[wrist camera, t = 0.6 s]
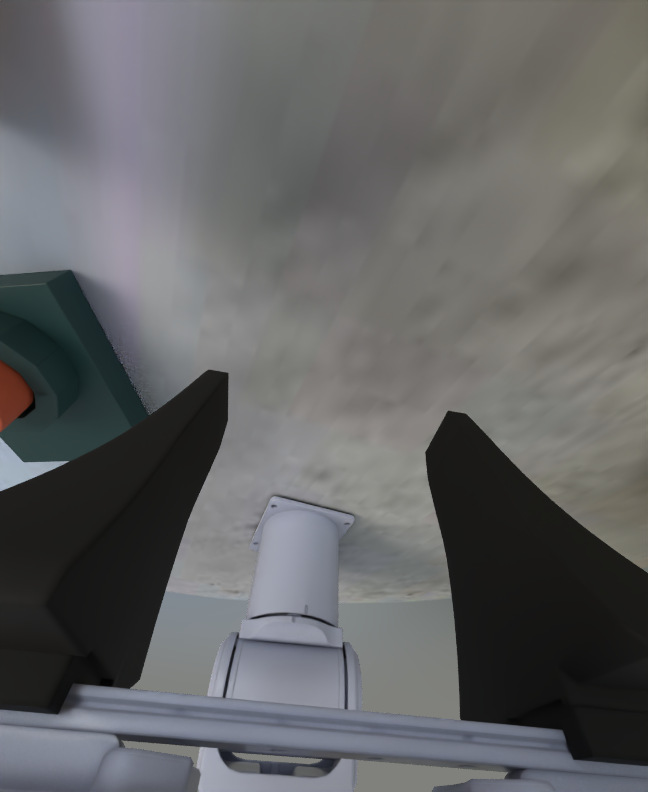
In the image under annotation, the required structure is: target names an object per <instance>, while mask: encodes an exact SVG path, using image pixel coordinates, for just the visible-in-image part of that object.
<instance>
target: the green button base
mask: <svg viewBox="0 0 648 792" xmlns="http://www.w3.org/2000/svg"><path fill="white" fill-rule="evenodd" d="M0 360H1V361H3V362H4V363H6V364H7V365H9V366H10V367H12V368H13V369H14V370H16V371H17V372H19V374H20V375H21V376H22V377H23V379H24V380H25V381H26V383H27V384H28V385H29V387H30V388H31V389H32V391H33V394H34V398H33V402H32V404H31V405H30V406H29V407H28V408H27V409H26V410H25V411H24V412H23V413H21V414H20V415H19V416H18V417H17V418H16V419H15V420H14V421H13V422H12V423H10V424H9V425H8V426H7V427H6V428H5V429H4V430H3V431H2V432H1V433H0V437H1V438H2V440H3V441H4V442H5V443H6V444H7V445H8V446H9V447H10V448H11V449H12V450H13V451H14V452H15V453H16V454H17V456H18V457H19V458H20V459H21V460H22V461H23V462H49V461H72V460H74V459H76V458H78V457H80V456H82V455H84V454H86V453H88V452H90V451H92V450H94V449H96V448H98V447H100V446H101V445H103V444H105V443H107V442H108V441H110V440H112V439H114V438H115V437H117V436H119V435H120V434H122V433H124V432H125V431H127V430H128V429H130V428H132V427H133V426H135V425H136V424H138V423H139V422H141V421H142V420H144V419H145V418H146V417H148V414H147V412H146V410H145V408H144V406H143V404H142V403H141V401H140V399H139V397H138V395H137V393H136V391H135V390H134V388H133V386H132V384H131V382H130V380H129V378H128V376H127V375H126V373H125V371H124V369H123V367H122V365H121V363H120V361H119V360H118V358H117V356H116V354H115V352H114V350H113V348H112V346H111V345H110V343H109V341H108V339H107V337H106V335H105V333H104V331H103V330H102V328H101V326H100V324H99V322H98V320H97V318H96V316H95V315H94V313H93V311H92V309H91V307H90V305H89V303H88V301H87V300H86V298H85V296H84V294H83V292H82V290H81V288H80V287H79V285H78V283H77V281H76V279H75V277H74V275H73V273H72V272H71V270H63V271H50V272H37V273H24V274H11V275H0Z"/></svg>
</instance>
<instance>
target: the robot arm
mask: <svg viewBox="0 0 648 792" xmlns="http://www.w3.org/2000/svg"><path fill="white" fill-rule="evenodd" d="M227 422H228V373H226V372H220V371H214V370H208V371H206V372H205V373H203V374H202V375H201V376H200V377H199V378H197V379H196V380H195V381H194V382H193V383H191V384H190V385H189V386H188V387H186V388H185V389H184V390H183V391H182V392H180V393H179V394H178V395H176V396H175V397H174V398H173V399H171V400H170V401H169V402H167V403H166V404H165V405H163V406H162V407H161V408H159V409H158V410H157V411H155V412H154V413H152V414H151V415H149V416H148V417H146V418H145V419H144V420H142V421H141V422H139V423H138V424H136V425H135V426H133V427H132V428H130V429H128V430H127V431H125V432H124V433H122V434H120V435H119V436H117V437H115V438H114V439H112V440H110V441H108V442H107V443H105V444H103V445H101V446H100V447H98V448H96V449H94V450H92V451H90V452H88V453H86V454H84V455H82V456H80V457H78V458H76V459H74V460H72V461H70V462H68V463H66V464H64V465H61V466H59V467H57V468H55V469H53V470H51V471H48V472H46V473H44V474H42V475H39V476H37V477H35V478H32V479H30V480H28V481H25V482H23V483H20V484H18V485H15V486H13V487H10V488H8V489H5V490H3V491H0V792H197V790H198V792H354V788H355V786H356V785H357V765H358V762H357V761H358V760H365V761H378V762H389V763H402V764H413V765H426V766H437V767H450V768H462V769H473V770H486V771H498V772H509V773H508V774H507V775H506V776H505V779H471V780H469V781H467V782H465V783H461V784H456V785H447V786H437V787H434V788H433V790H432V792H648V573H647V572H645V571H644V570H643V569H641V568H640V567H638V566H637V565H635V564H634V563H632V562H631V561H629V560H628V559H626V558H625V557H624V556H622V555H621V554H619V553H618V552H617V551H615V550H614V549H612V548H611V547H610V546H608V545H607V544H606V543H604V542H603V541H602V540H600V539H599V538H598V537H596V536H595V535H594V534H592V533H591V532H590V531H588V530H587V529H586V528H584V527H583V526H582V525H581V524H579V523H578V522H577V521H576V520H574V519H573V518H572V517H571V516H570V515H568V514H567V513H566V512H565V511H564V510H563V509H561V508H560V507H559V506H558V505H557V504H555V503H554V502H553V501H552V500H551V499H550V498H549V497H548V496H546V495H545V494H544V493H543V492H542V491H541V490H540V489H539V488H538V487H537V486H536V485H535V484H534V483H533V482H532V481H531V480H529V479H528V478H527V477H526V476H525V475H524V474H523V473H522V472H521V471H520V470H519V469H518V468H517V467H516V466H515V465H514V464H513V463H512V462H511V461H510V459H509V458H508V457H507V456H506V455H505V454H504V453H503V452H502V451H501V450H500V449H499V448H498V447H497V446H496V445H495V444H494V442H493V441H492V440H491V439H490V438H489V437H488V436H487V435H486V434H485V433H484V432H483V431H482V430H481V429H480V428H479V426H478V425H477V424H476V423H475V422H474V421H473V420H472V419H471V418H470V417H469V416H468V415H466V414H464V413H458V412H452V411H448V412H447V414H446V416H445V417H444V419H443V421H442V423H441V425H440V427H439V428H438V430H437V432H436V434H435V436H434V438H433V439H432V441H431V443H430V445H429V447H428V449H427V450H426V452H425V453H426V465H427V474H428V481H429V486H430V490H431V494H432V498H433V502H434V506H435V510H436V514H437V518H438V522H439V526H440V530H441V534H442V538H443V542H444V547H445V552H446V557H447V564H448V571H449V578H450V585H451V593H452V601H453V611H454V619H455V631H456V644H457V655H458V674H459V694H460V719H461V720H453V719H442V718H431V717H421V716H411V715H400V714H390V713H379V712H368V711H362V683H361V682H362V681H361V671H360V664H359V659H358V655H357V654H356V652H355V651H354V649H353V648H352V645H351V644H350V643H349V642H343V629H342V628H338V572H339V541H340V540H341V538H342V537H343V536H344V535H345V533H346V532H347V531H348V529H349V528H350V527H351V526H352V524H353V523H354V521H355V518H354V516H352V515H349V514H345V513H341V512H337V511H333V510H329V509H325V508H321V507H317V506H313V505H309V504H305V503H301V502H297V501H293V500H289V499H285V498H281V497H276V496H274V497H272V498H271V499H270V501H269V503H268V505H267V507H266V510H265V512H264V514H263V516H262V518H261V521H260V523H259V525H258V527H257V529H256V531H255V534H254V536H253V538H252V540H251V542H250V545H249V548H250V549H251V550H254V551H258V555H257V560H256V565H255V570H254V575H253V580H252V586H251V591H250V596H249V601H248V606H247V616H246V619H243V620H242V623H241V628H240V633H238V632H231V633H230V635H229V636H228V637H227V638H226V639H225V640H224V641H223V642H222V643H221V645H220V648H219V651H218V654H217V657H216V660H215V664H214V668H213V672H212V676H211V680H210V685H209V690H208V694H207V696H199V695H190V694H178V693H168V692H158V691H147V690H137V689H130V688H131V687H132V686H133V685H134V684H135V683H137V682H138V681H139V680H140V677H141V673H142V669H143V666H144V662H145V659H146V655H147V652H148V648H149V645H150V641H151V637H152V634H153V630H154V627H155V623H156V620H157V617H158V613H159V610H160V607H161V603H162V600H163V596H164V593H165V590H166V587H167V583H168V580H169V577H170V574H171V571H172V568H173V564H174V561H175V558H176V555H177V552H178V549H179V546H180V543H181V540H182V537H183V534H184V531H185V528H186V525H187V522H188V519H189V517H190V514H191V512H192V509H193V507H194V504H195V502H196V500H197V498H198V495H199V493H200V491H201V489H202V486H203V484H204V482H205V480H206V478H207V475H208V473H209V471H210V469H211V466H212V464H213V462H214V459H215V457H216V455H217V453H218V450H219V448H220V445H221V442H222V438H223V435H224V432H225V428H226V425H227ZM121 740H123V741H136V742H148V743H160V744H172V745H185V746H196V747H200V751H199V756H198V762H197V766H196V768H195V767H193V764H194V763H193V761H192V759H191V757H185V756H179V755H173V754H167V753H161V752H154V751H148V750H142V749H134V748H125V746H124V744H123V742H122V741H121ZM232 752H235V753H249V754H262V755H275V756H289V757H303V758H316V759H322V760H321V761H320V762H318V763H314V764H298V763H285V762H271V761H257V760H245V759H242V758H239V757H236V756H235V755H234V754H233V753H232Z"/></svg>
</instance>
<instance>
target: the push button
mask: <svg viewBox="0 0 648 792" xmlns="http://www.w3.org/2000/svg"><path fill="white" fill-rule="evenodd" d="M33 398H34V394H33V391H32V389H31V388H30V387H29V385H28V384H27V383H26V381H25V380H24V379H23V377H22V376H21V375H20V374H19V372H17V371H16V370H14V369H13V368H12V367H10V366H9V365H7V364H6V363H4V362H3V361H1V360H0V433H1V432H2V431H3V430H4V429H5V428H6V427H7V426H8V425H9V424H10V423H12V422H13V421H14V420H15V419H16V418H17V417H18V416H19V415H20V414H21V413H23V412H24V411H25V410H26V409H27V408H28V407H29V406H30V405H31V404H32V402H33Z"/></svg>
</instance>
